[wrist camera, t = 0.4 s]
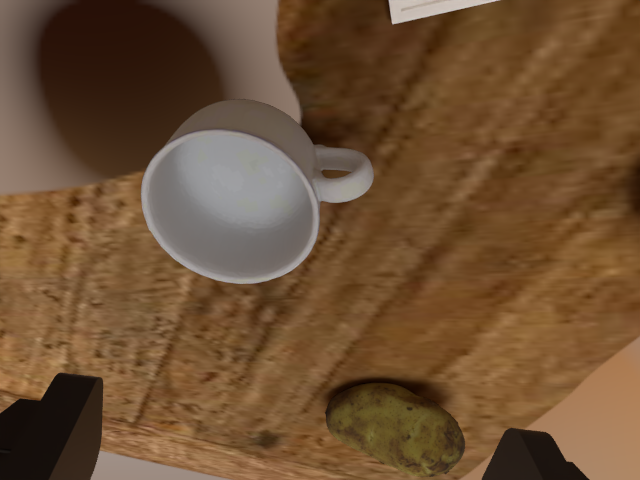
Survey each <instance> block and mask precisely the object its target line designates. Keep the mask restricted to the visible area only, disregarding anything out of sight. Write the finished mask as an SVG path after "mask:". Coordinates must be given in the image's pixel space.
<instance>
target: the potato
mask: <svg viewBox="0 0 640 480" xmlns="http://www.w3.org/2000/svg"><path fill="white" fill-rule="evenodd" d="M325 414H326V423H327V427H328V429H329V431H330V433H331V434H332V435H333V436H334V437H335V438H337V439H338V440H339V441H341V442H343V443H344V444H346V445H348V446H350V447H352V448H354V449H356V450H358V451H360V452H362V453H365V454H367V455H369V456H371V457H373V458H375V459H376V460H378V461H379V462H381V463H383V464H386V465H389V466H391V467H394V468H396V469H398V470H400V471H403V472H405V473H407V474H410V475H413V476H418V477H433V476H437V475H440V474H443V473H444V474H447V472H449V470H450V469H452V468H453V467H454V466H455V465H456V464H457V463H458V461H459V460H460V459H461V457H462V455H463V453H464V449H465V440H464V436H463V434H462V431H461V429H460V427H459V425H458V422H457V421H456V420H455V419H454V418H453V417H452V416H451V414H449V413H448V412H447V411H445V410H444V409H443V408H441V407H440V406H439V405H438V404H436V403H435V402H433V401H431V400H429V399H427V398H424V397H420V396H417V395H415V394H413V393H412V392H410V391H409V390H407V389H405V388H403V387H401V386H399V385H395V384H389V383H368V384H362V385H358V386H354V387H352V388H350V389H347V390H345V391H343V392H341V393H339V394H337V395H336V396H334V397H333V398H332V399H331V400H330V402H329V404H328V407H327V409H326V412H325Z"/></svg>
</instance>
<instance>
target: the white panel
mask: <svg viewBox="0 0 640 480" xmlns="http://www.w3.org/2000/svg"><path fill="white" fill-rule="evenodd" d="M494 1H498V0H389V7H390V14H391V20H392V24H397V23H401V22H405V21H410V20H414V19H419V18H423V17H428V16H432V15H436V14H441V13H445V12H450V11H454V10H458V9H463V8H467V7H472V6H476V5H481V4H485V3H489V2H494Z"/></svg>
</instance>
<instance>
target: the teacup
mask: <svg viewBox="0 0 640 480" xmlns="http://www.w3.org/2000/svg"><path fill="white" fill-rule="evenodd" d="M324 169H328V170H345V171H350V172H352V173H350V174H348V175H346V176H344V177H340V178H333V179H329V178H326V177H324V176H323V174H322V173H321V171H322V170H324ZM373 178H374V173H373V168H372V165H371V162H370V161H369V159H368V158H367V156H366V155H364V154H363V153H361V152H359V151H356V150H352V149H346V148H330V147H325V146H323V145H314V144H313V143H312V141H311V140H310V138H309V137H308V135H307V134H306V132H305V131H304V130H303V129H302V127H301V126H300V125H299V124H298V123H297V122H296V121H295V120H294V119H292V118H291V117H290V116H289V115H287V114H286V113H284V112H282V111H280V110H279V109H277V108H275V107H273V106H270V105H268V104H265V103H261V102H257V101H253V100H246V99H233V100H226V101H220V102H217V103H214V104H211V105H208V106H207V107H205V108H202V109H201V110H199V111H197V112H196V113H195V114H193V115H192V116H191V117H190V118H188V119H187V120H186V121H185V122H184V123H183V124H182V125H181V126H180V127H179V128H178V130H177V131H176V132H175V133H174V134H173V135H172V137H171V138H170V139H169V141H168V142H167V143H166V145H165V146H164V147H163V148H162V149H161V150H160V151H159V152H158V153H156V155H155V156H154V157H153V158H152V160H151V162H150V164H149V165H148V167H147V168H146V171H145V174H144V176H143V180H142V186H141V201H142V210H143V213H144V216H145V220H146V222H147V225H148V228H149V230H150V231H151V232H152V234H153V236H154V237H155V239H156V240H157V241H158V243H159V244H160V245H161V247H162V248H163V249H164V250H165V251H166V252H168V253H169V254H170V256H171V257H172V258H174V259H175V260H176V261H178V262H179V263H181V264H182V265H184V266H185V267H187V268H188V269H190V270H192V271H194V272H197V273H199V274H201V275H203V276H206V277H209V278H212V279H215V280H220V281H223V282H231V283H239V284H244V283H260V282H263V281H269V280H270V279H274V278H277V277H280V276H282V275H284V274H286V273H288V272H290V271H291V270H293V269H294V268H296V267H297V266H298V265H299V264H300V263H301V262H302V261H303V260H304V259H305V258H306V257H307V256H308V254H309V253H310V251H311V250H312V247H313V245H314V244H315V242H316V239H317V235H318V231H319V223H320V217H319V209H320V202H321V201H326V202H332V203H340V202H346V201H350V200H353V199H356V198H358V197H359V196H361V195H363V194H364V193H365V192H366V191H367V190H368V189H369V188H370V186H371V184H372V182H373Z"/></svg>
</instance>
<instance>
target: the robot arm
mask: <svg viewBox="0 0 640 480" xmlns="http://www.w3.org/2000/svg"><path fill="white" fill-rule="evenodd" d="M102 407H103V380H102V378H101V377H93V376H84V375H76V374H68V373H58V374H57V375H56V376H55V377H54V379H53V381H52V382H51V384H50V386H49V387H48V389H47V391H46V392H45V394H44V396H43V397H42V399H41V401H37V400H28V399H19V400H17V401H16V402H15V403H13V404H12V405H11V406H9V407H8V408H7V409H5V410H4V411H3V412H1V413H0V480H90V479H91V476H92V474H93V471H94V468H95V465H96V462H97V458H98V454H99V450H100V444H101V436H102ZM482 480H589V479H588V478H587V477H586V476H585V475H584V474H583V473H582V472H581V471H580V470H579V469H578V467H576V466H575V464H574V463H573V462H566V460H565V458H564V456H563V455H562V453H561V451H560V450H559V448H558V446H557V444H556V442H555V441H554V439H553V438H552V436H550V434H548V433H546V432H540V431H531V430H523V429H515V428H510V429H508V430H506V431H505V433H504V434H503V436H502V438H501V440H500V442H499V444H498V446H497V448H496V451H495V453H494V455H493V457H492V459H491V461H490V463H489V465H488V467H487V469H486V471H485V473H484V475H483V477H482Z"/></svg>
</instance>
